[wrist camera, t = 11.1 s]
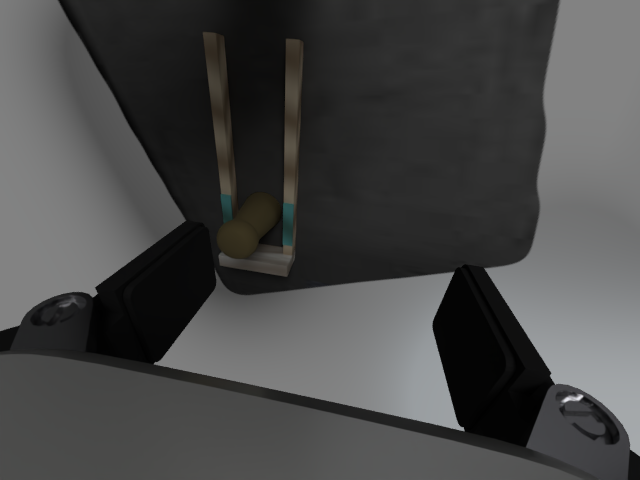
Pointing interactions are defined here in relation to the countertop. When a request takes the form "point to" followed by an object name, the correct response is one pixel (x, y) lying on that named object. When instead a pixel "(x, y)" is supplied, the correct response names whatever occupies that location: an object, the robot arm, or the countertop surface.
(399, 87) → the countertop surface
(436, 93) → the countertop surface
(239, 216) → the dark brown rounded piece
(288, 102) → the guide channel
